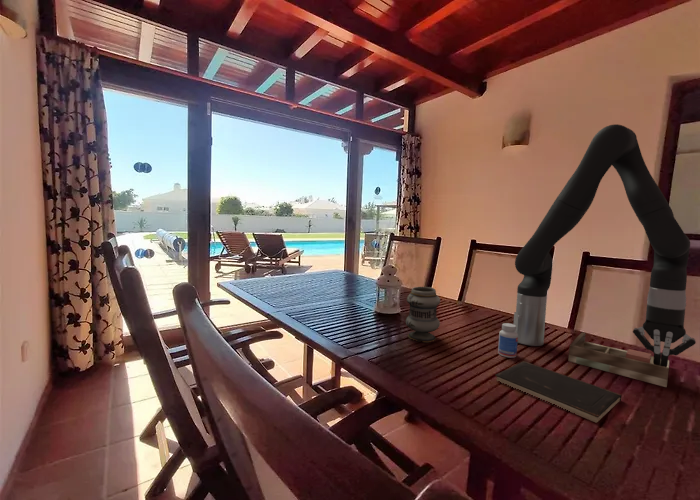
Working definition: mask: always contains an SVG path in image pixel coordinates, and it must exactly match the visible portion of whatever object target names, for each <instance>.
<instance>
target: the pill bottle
mask: <svg viewBox="0 0 700 500" xmlns="http://www.w3.org/2000/svg"><path fill="white" fill-rule="evenodd" d="M515 331H516V325H514V323H508V322H506V323H502V324H501V330H500V331H499V332H498V333H499V334H498V347H497V349H498V350H497V353H498V355H499V356H501V357H504V358H508V359H509V358H511V359H513V358H516V357H517V354H518V344H519V343H518V334H517V333H516V332H515Z"/></svg>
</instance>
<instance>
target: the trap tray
mask: <svg viewBox="0 0 700 500" xmlns="http://www.w3.org/2000/svg"><path fill="white" fill-rule="evenodd" d="M627 351H628V350H624V349H620V348H616V347H611V346H606V345H602V344H598V343H594V342H589V341H586V332H583V331H582V332H581V333H580V334H579V335H578V336H577V337H576V338H575V339H574V340H573V341H572V342H571V343H570V344H569V349H568V359H567V361H568V362H570V363H574V364H578V365H581V366H586V367H590V368H593V369H596V370H599V371H600V370H601V371H604V372H607V373H612V374H614V375H615V374H616V375H619V376H621V377H622V376H623V377H627V378H630V379H635V380H637V381H641V382H645V383H649V384H653V385H657V386H660V387H664V388H667V386H668V378H669V369H670V367H669V366H670V360H669V359H668V364H667V367H663V366H659V365H655V364H654V363H653V360H654V356H653V355H651V361H650V363H646V362H642V361H638V360H634V359H629V358H626V353H627ZM660 363H661V361H660Z"/></svg>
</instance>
